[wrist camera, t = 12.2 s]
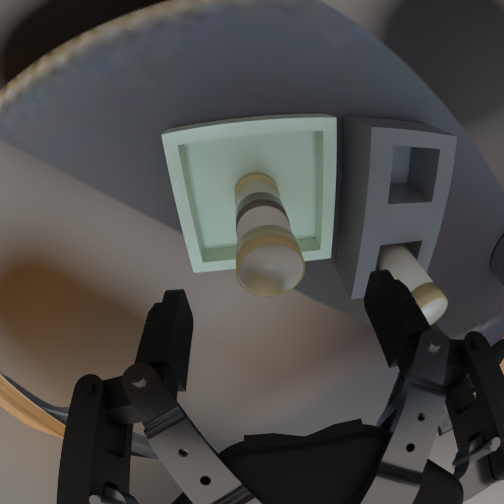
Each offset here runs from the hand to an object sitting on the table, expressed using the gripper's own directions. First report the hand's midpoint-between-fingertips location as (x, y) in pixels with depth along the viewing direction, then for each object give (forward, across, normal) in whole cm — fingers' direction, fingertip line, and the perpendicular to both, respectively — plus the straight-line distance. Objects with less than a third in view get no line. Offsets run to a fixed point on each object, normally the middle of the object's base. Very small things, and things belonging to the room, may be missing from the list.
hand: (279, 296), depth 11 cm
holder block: (+13, -11, +2) cm, 17 cm away
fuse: (+12, -11, +6) cm, 17 cm away
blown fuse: (+12, 0, 0) cm, 12 cm away
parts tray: (+13, 0, 0) cm, 13 cm away
